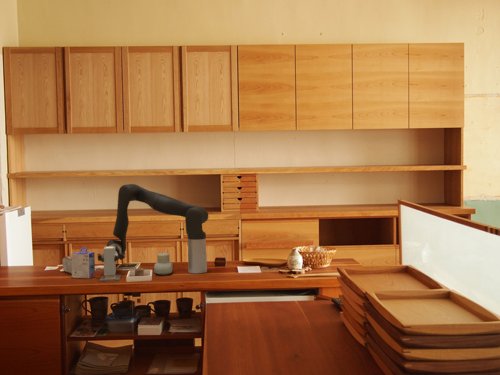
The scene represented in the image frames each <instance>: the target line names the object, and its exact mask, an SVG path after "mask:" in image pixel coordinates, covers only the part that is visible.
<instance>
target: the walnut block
mask: <svg viewBox="0 0 500 375" xmlns="http://www.w3.org/2000/svg"><path fill="white" fill-rule="evenodd" d="M134 270H135V275H134V276H145V275H144V270H145V268H143V267H141V268H134Z"/></svg>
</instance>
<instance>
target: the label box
mask: <svg viewBox="0 0 500 375" xmlns="http://www.w3.org/2000/svg"><path fill="white" fill-rule="evenodd" d="M102 252H103V253H102V254H104V262H103V276H106V275H117V261H116V262H114V257H115V255H116V252H115V246H111V247H107V246H104V248H103V251H102Z"/></svg>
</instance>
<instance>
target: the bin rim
mask: <svg viewBox="0 0 500 375" xmlns="http://www.w3.org/2000/svg"><path fill="white" fill-rule="evenodd" d="M125 280H126V283H133V282H151V281H152V280H153V269H144V276H135V269H134V270H128V272H127V275H126V278H125Z"/></svg>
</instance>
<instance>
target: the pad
mask: <svg viewBox="0 0 500 375" xmlns="http://www.w3.org/2000/svg"><path fill="white" fill-rule="evenodd" d="M121 276H122V274H115V275H102V276H101V277H100V279H99V282H113V281H115V282H117V281H120V279H121V278H122V277H121Z"/></svg>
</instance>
